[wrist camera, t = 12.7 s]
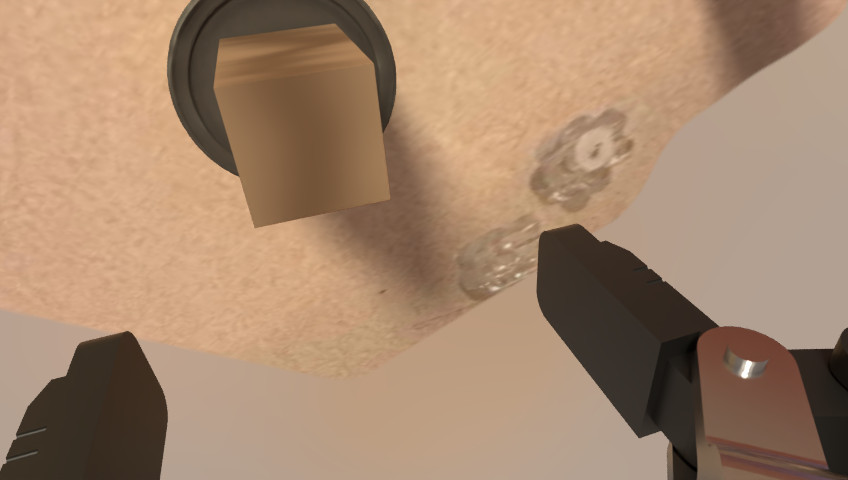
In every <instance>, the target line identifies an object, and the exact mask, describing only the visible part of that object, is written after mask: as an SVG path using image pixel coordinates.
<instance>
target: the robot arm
mask: <svg viewBox="0 0 848 480" xmlns="http://www.w3.org/2000/svg"><path fill="white" fill-rule="evenodd" d="M537 298H538V302H539V306H540V308H541V311H542V313H543V315H544V317H545V318H546V319H547V321H548V322H549V323H550V325H551V326H552V327H553V328H554V330H555V331H556V332H557V334H558V335H559V336H560V337H561V339H562V340H563V341H564V342H565V344H566V345H567V346H568V347H569V349H570V350H571V351H572V353H573V354H574V355H575V357H576V358H577V359H578V360H579V362H580V363H581V364H582V366H583V367H584V368H585V369H586V371H587V372H588V373H589V375H590V376H591V377H592V379H593V380H594V381H595V382H596V384H597V385H598V386H599V388H600V389H601V390H602V391H603V393H604V394H605V395H606V397H607V398H608V399H609V400H610V402H611V403H612V404H613V406H614V407H615V408H616V409H617V411H618V412H619V413H620V414H621V416H622V417H623V418H624V419H625V421H626V422H627V423H628V425H629V426H630V427H631V429H632V430H633V431H634V432H635V434H636V435H637V436H638V438H642V437H644V436H647V435H650V434H653V433H656V432H659V431H662V432H663V433H664V435H665V436H666V437H667V438H668V439H669V445H668V448H667V474H668V475H667V477H668V480H848V328H846V329H845V330H844V331H843V332H842V334H841V336H840V338H839V340H838V342H837V344H836V346H835V348H834V349H799V350H787V349H786V348H785V347H784V346H782V345H781V344H780V343H778V342H777V341H775V340H774V339H772V338H770V337H768V336H766V335H764V334H762V333H759V332H756V331H754V330H750V329H745V328H741V327H733V326H731V327H730V326H724V327H719V326H718V325H717V324H716V323H714V322H713V321H712V320H711V319H710V318H709V317H708V316H706V315H705V314H704V313H703V312H702V311H700V310H699V309H698V308H697V307H696V306H694V305H693V304H692V303H691V302H690V301H688V300H687V299H686V298H685V297H684V296H682V295H681V294H680V293H679V292H678V291H677V290H675V289H674V288H673V287H672V286H671V285H669V284H668V283H667V282H666V281H665V282H663V281H662V278H661V277H660V276H659V275H657V274H656V273H655V272H654V271H653V270H652V269H648V268H647V265H645V264H644V263H643V262H642V261H641V260H640V259H638V258H637V257H636V256H635V255H634V254H633V253H631V252H630V251H628V250H626V249H623V248H621V247H619V246H617V245H615V244H612V243H610V242H608V241H603V242H600V241H599V240H597V239H596V238H595V237H594V236H593V235H592V234H591V233H589V232H588V231H587V230H586V229H585V228H584V227H583V226H581V225H579V224H573V225H569V226H565V227H560V228H556V229H552V230H548V231H544V232H542V234H541V235H540V239H539V251H538V271H537ZM167 422H168V412H167V405H166V400H165V396H164V393H163V390H162V388H161V386H160V384H159V382H158V380H157V378H156V376H155V374H154V372H153V370H152V368H151V366H150V365H149V363H148V361H147V359H146V357H145V355H144V353H143V351H142V349H141V347H140V345H139V343H138V341H137V340H136V338H135V336H134V335H133V334H132V333H131V332H129V331H126V332H122V333H118V334H114V335H110V336H106V337H101V338H97V339H93V340H89V341H85V342H81V343H80V344H79V345H78V346H77V348H76V351H75V353H74V356H73V359H72V361H71V364H70V367H69V370H68V372H67V375H66V376H65V377H61V378H56V379H53V380H51V381H50V382H49V383H48V385H47V386H46V387H45V388H44V389H43V390H42V391H41V392H40V394H39V395H38V396H37V397H36V398H35V399H34V401H32V403H31V404H30V405H29V406H28V408H27V410H26V412H25V415H24V417H23V419H22V422H21V424H20V426H19V429H18V431H17V433H16V436H17V439H16V440H13V443H12V445H11V447H10V449H9V452H8V454H7V457H6V460H7V463H6V464H3V466H2V468H1V471H0V480H160V473H161V467H162V459H163V452H164V445H165V438H166V430H167Z"/></svg>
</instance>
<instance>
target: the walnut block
mask: <svg viewBox="0 0 848 480" xmlns="http://www.w3.org/2000/svg"><path fill="white" fill-rule="evenodd" d="M213 89H214V92H215V95H216V99H217V102H218V106H219V109H220V112H221V116H222V119H223V122H224V126H225V129H226V133H227V136H228V139H229V143H230V146H231V150H232V153H233V156H234V160H235V163H236V166H237V170H238V173H239V177H240V180H241V183H242V187H243V190H244V194H245V197H246V200H247V204H248V207H249V210H250V214H251V217H252V221H253V224H254V227H255V228H258V227H263V226H267V225H272V224H277V223H282V222H286V221H291V220H296V219H300V218H305V217H310V216H315V215H319V214H324V213H329V212H334V211H338V210H343V209H348V208H352V207H357V206H362V205H367V204H371V203H376V202H381V201H385V200H390V191H389V182H388V174H387V166H386V158H385V150H384V142H383V134H382V126H381V118H380V110H379V102H378V94H377V85H376V77H375V69H374V63H373V62H372V61H371V60H370V59H369V58H368V57H367V56H366V55H365V54H364V53H363V52H362V51H361V50H360V49H359V48H358V47H357V46H356V45H355V44H354V43H353V42H352V41H351V40H350V38H349V37H348V36H347V35H346V34H345V33H344V32H343V31H342V30H341V29H340V28H339V27H338V26H337V25H336V24H327V25H320V26H312V27H305V28H298V29H290V30H283V31H275V32H268V33H260V34H253V35H246V36H238V37H231V38H223V39H220V40H219V48H218V55H217V63H216V71H215V79H214V87H213Z"/></svg>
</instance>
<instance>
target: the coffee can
mask: <svg viewBox="0 0 848 480" xmlns="http://www.w3.org/2000/svg"><path fill="white" fill-rule="evenodd" d="M327 24H336V25H337V26H338V27H339V28H340V29H341V30H342V31H343V32H344V33H345V34H346V35H347V36H348V37H349V38H350V40H351V41H352V42H353V43H354V44H355V45H356V46H357V47H358V48H359V49H360V50H361V51H362V52H363V53H364V54H365V55H366V56H367V57H368V58H369V59H370V60H371V61H372V62H373V63H374V69H375V77H376V85H377V94H378V102H379V110H380V118H381V126H382V134H383V132H384V130H385V128H386V126H387V124H388V122H389V119H390V116H391V113H392V110H393V106H394V101H395V95H396V65H395V61H394V56H393V52H392V48H391V45H390V42H389V40H388V37H387V35H386V33H385V31H384V29H383V27H382V25H381V23H380V21H379V20H378V18H377V17H376V15H375V14H374V12H373V11H372V10H371V8H370V7H369V6H368V4H367V3H366V2H365V1H364V0H191V1H190V3H189V4H188V5H187V6H186V8H185V9H184V11H183V12H182V14H181V16H180V18H179V19H178V21H177V24H176V26H175V28H174V31H173V34H172V37H171V40H170V45H169V52H168V61H167V77H168V85H169V90H170V94H171V99H172V102H173V105H174V108H175V110H176V112H177V115H178V117H179V119H180V121H181V123H182V125H183V127H184V128H185V129H186V131H187V133H188V134H189V136H190V137H191V139H192V140H193V141H194V142H195V144H196V145H197V146H198V147H199V148H200V149H201V150H202V151H203V152H204V153H205V154H206V155H207V156H208V157H209V158H210V159H211V160H213V161H214V162H215V163H216V164H218V165H219V166H220V167H222V168H223V169H225V170H227V171H229V172H231V173H232V174H234V175H236V176H239V173H238V170H237V166H236V163H235V160H234V156H233V153H232V150H231V146H230V143H229V139H228V136H227V133H226V129H225V126H224V122H223V119H222V116H221V112H220V109H219V106H218V102H217V99H216V95H215V92H214V89H213V87H214V79H215V71H216V63H217V55H218V48H219V40H220V39H223V38H231V37H238V36H246V35H253V34H260V33H268V32H275V31H283V30H290V29H298V28H305V27H312V26H320V25H327Z"/></svg>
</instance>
